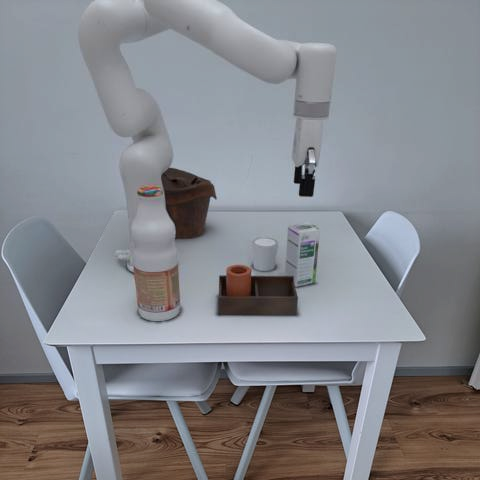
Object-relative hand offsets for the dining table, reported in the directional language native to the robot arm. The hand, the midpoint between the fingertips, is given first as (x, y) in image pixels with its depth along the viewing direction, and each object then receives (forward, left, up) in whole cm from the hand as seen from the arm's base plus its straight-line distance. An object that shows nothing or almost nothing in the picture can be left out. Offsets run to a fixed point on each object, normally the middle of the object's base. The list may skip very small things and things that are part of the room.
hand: (302, 189), depth 114 cm
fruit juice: (-32, -16, -23) cm, 43 cm away
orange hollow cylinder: (-15, -13, -23) cm, 30 cm away
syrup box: (+1, 0, -23) cm, 23 cm away
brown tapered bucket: (-30, +33, -23) cm, 50 cm away
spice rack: (-10, -13, -23) cm, 29 cm away
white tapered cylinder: (-7, +8, -23) cm, 26 cm away
